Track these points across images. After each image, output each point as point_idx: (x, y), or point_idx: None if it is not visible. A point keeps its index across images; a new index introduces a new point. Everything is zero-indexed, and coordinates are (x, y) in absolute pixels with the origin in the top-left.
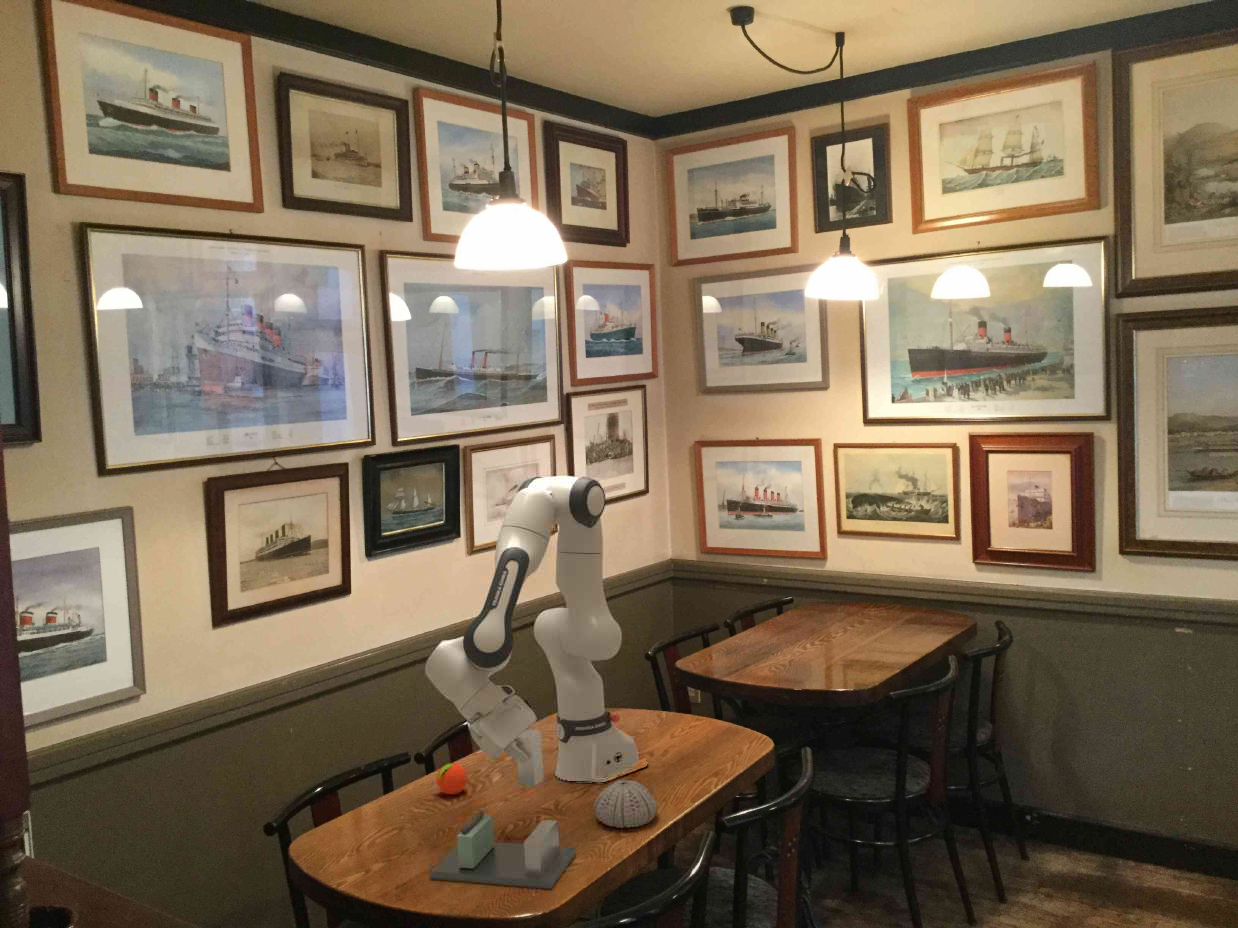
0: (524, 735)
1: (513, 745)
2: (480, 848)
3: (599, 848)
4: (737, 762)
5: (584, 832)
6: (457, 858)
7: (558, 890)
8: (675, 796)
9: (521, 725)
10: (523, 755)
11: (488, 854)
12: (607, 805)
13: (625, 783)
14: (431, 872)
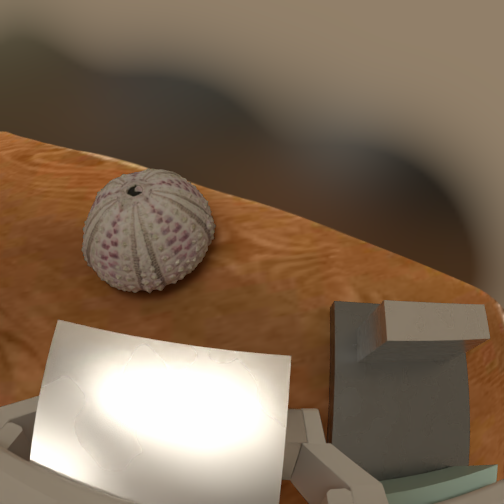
0: (193, 460)
1: (368, 501)
2: (436, 474)
3: (292, 269)
4: (5, 146)
5: (215, 313)
6: None
7: (450, 300)
8: (74, 186)
9: (16, 499)
10: (322, 431)
11: (392, 476)
12: (187, 238)
13: (136, 188)
14: None
